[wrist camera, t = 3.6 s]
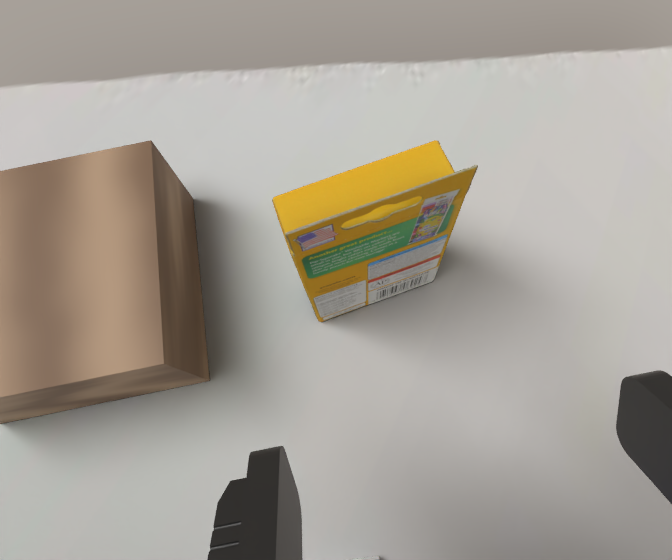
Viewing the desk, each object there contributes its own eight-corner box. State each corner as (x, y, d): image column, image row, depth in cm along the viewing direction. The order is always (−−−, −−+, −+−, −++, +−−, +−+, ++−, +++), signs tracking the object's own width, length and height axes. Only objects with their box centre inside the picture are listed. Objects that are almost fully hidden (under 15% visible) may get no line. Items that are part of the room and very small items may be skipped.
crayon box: (415, 238, 27) (448, 103, 16) (435, 281, 26) (484, 168, 15) (302, 278, 27) (258, 167, 16) (318, 323, 26) (283, 238, 15)
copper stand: (0, 423, 25) (-108, 419, 19) (13, 234, 29) (-72, 185, 23) (209, 380, 25) (163, 363, 19) (192, 198, 29) (151, 140, 23)
